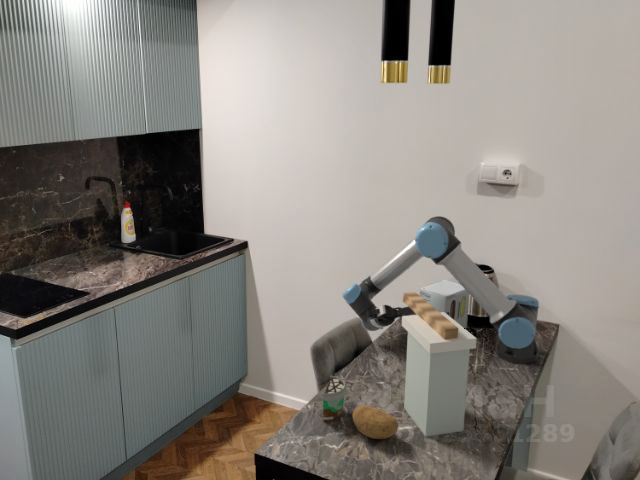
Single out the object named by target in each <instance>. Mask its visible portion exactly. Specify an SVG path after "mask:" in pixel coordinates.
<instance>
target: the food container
mask: <svg viewBox="0 0 640 480" xmlns="http://www.w3.org/2000/svg"><path fill="white" fill-rule="evenodd" d="M347 392H348V389H347V385H346V383H345V381H344V380H343V379H342V378H340V377H339V376H334V375H330V376H329V382H328V383H327V386H326V389H325V392H322V393H323V394H322V401H323V402H322V405H323V407H322V408H323V409H322V410H323V411H322V412H323V413H322V414H323V417H322V418H323V422H325V423H331V422H335V421H338V420H340V419H341V418H342V417H343V414H344V413H343V412H344V402H345V401H344V400H345V395H346V394H347Z"/></svg>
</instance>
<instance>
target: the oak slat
mask: <svg viewBox="0 0 640 480" xmlns="http://www.w3.org/2000/svg"><path fill="white" fill-rule="evenodd" d="M402 293H403V294H402V302H403V303H404V304H405V305H406V307H409V308H411V309H412V310H413V311H414V312H415V313H416V314H415V315H418V316H419V317H420V318H421V319H423V320H424V321H425V322H426V323H427V324H428V325H429V326H430V327H431V328H432V329H434V330H435V331H436V332H437V333H438V334H439V335H440V336H441V337H442V338H443V339H454V338H458V327H457V326H455V325H454V324H453V323H452V322H450V321H449V320H448V319H447V318H446V317H444V316H443V315H442V314H441V313H440V312H438V311H437V310H436V309H435V308H434V307H432V306H431V305H430V304H429V303H428V302H426V301H425V300H424V299H423V298H422V297H420V296H419V294H418V293H417V292H416V291H410V292H409V291H408V292H402Z"/></svg>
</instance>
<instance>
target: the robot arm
mask: <svg viewBox="0 0 640 480" xmlns="http://www.w3.org/2000/svg"><path fill="white" fill-rule="evenodd" d="M455 232H456V231H455V226H454V224H453V223H452V222H451V220H450V219H448V218H447V217H445V216H439V215H438V216H432V217H430V218H429V219H428V220H427V221H425V223H423V225H421V226H420V228H419V229H418V230H417V232H416V235H415V237H414V238H413V239H411V241H409V242H408V243H406V245H405V246H403V247H402V248H401V249H400V250H399V251H397V252H396V253H395V254H394V255H393V256H391V257H390V258H389V259H388V260H386V261H385V262H384V263H383V264H382V265H381V266H379V267H378V268H377V269H375V271H373V272H372V273H371V274H370V275H369V276H367V277H366V278H364V279H363V280H362V281H361V282H360V284H357V283H353V284H352V285H351V286H349V287H348V288H347V289H346V290H344V291H343V293H342V297H343V299H344V300H345V302H346V304H347V305H349V307H350V308H351V309H352V311H354V313H355V314H356V315H357V316H358V317H359V319H360V320H361V325H362V327H363V328H364V329H365V330H366V331H369V332H376V331H379V330H384V328H385V327H388V326H392V324H393V323H394V322H395V321H396V319H397V318H402V316H410V315H417V314H416V313H415V312H414V311H413V310H412V309H411V308H409V307H408V306H406V307H399V306H397V307H392V306H390V305H389V304H382V305H380V306H378V307H377V306H376V305H375V304H374V302H373V301H372V300H373V298H374V297H376V296H377V295H378V294H379V293H380V292H382V291H383V290H384V289H385V288H387V287H388V286H389V285H390V284H392V282H394V281H395V280H396V279H398V278H399V277H400V276H401V275H403V274H404V273H405V272H406V271H408V270H409V269H410V268H411V267H413V266H414V265H415V264H416V263H418V262H419V261H420V260H421V259H423V258H424V257H425V258H427V259H430V260H431V261H432V262H433V263H434V264H435V265H436V266H443V267H444V268H445V269H446V271H448V272H449V274H450V275H451V276H452V277H453V278H454V279H455V280H456V281H457V282H458V284H460V285H462V286H463V287H464V289H465V290H466V291H467V292H468V293H469V296H470V297H472V298H473V299H474V301H476V303H478V305H479V307H481V308H482V309H483V311H485V312H486V313H487V315H488V316H489V322H490V324H491V325H492V326H493V328H494V329H495V330H496V331H497V332H498V337H499V339H498V341H497V343H496V346H495V354H496V356H498V357H499V358H500V359H502V360H504V361H506V362H510V363H513V364H514V363H515V364H521V365H522V364H523V365H524V364H531V363H534V362H537V361H538V358H539V349H538V345H537V340H536V335H537V321H538V315H539V314H538V313H539V307H540V306H539V305H540V302H539V300H538V299H537V298H535V297H533V296H530V295H523V294H509V295H505V294H504V293H503V292H502V291H501V290H500V289H499V288H498V287H497V285H495V283H494V282H493V281H492V280H491V279H490V278H489V277H488V276H487V275H486V273H484V271H482V270H481V268H479V266H478V265H477V264H476V263H475V261H473V260H472V258H470V257H469V256H468V254H466V252H465V251H464V250H463V249H462V242H461V241H460V240H459V238H457V236H455V235H456V233H455Z"/></svg>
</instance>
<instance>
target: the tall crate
mask: <svg viewBox="0 0 640 480" xmlns="http://www.w3.org/2000/svg"><path fill="white" fill-rule="evenodd" d="M440 313H441V314H442V315H443V316H444V317H446V318H447V319H448V320H449V321H450V322H452V323H453V324H454V325H455V326H457V327H458V338H454V339H443V338H442V337H441V336H440V335H439V334H438V333H437V332H436V331H435V330H434V329H432V328H431V327H430V326H429V325H428V324H427V323H426V322H425V321H424V320H423V319H421V318H420V317H419V316H418V315H417V314H411V315H407V316H402V317H401V326H402V328H403V329H404V330H406V332H407V341H406V342H407V345H406V361H405V362H406V363H405V367H406V368H405V384H404V385H405V386H404V402H403V403H404V404H403V407H404V408H403V409H404V410H405V411H406V412H407V414H408V416H409V417H410V418H411V420H412V421H413V422H414V423H415V424H416V426H417V427H418V429H419V430H420V432H421V433H422V434H423V436H424V437H426V438H427V437H432V436H440V435H445V434H446V435H447V434H452V433H460V432H464V427H465V413H466V402H467V388H468V377H469V376H468V374H469V363H470V362H469V361H470V353H471V352H470V351H471V350H472V349H476V348H477V340H478V339H477V337H476V336H474V335H473V334H472V333H470V332H469V331H468V330H467V328H465V329H464V328H463V327H462V326H461V325H460V324H458V323H457V322H456V321H455V320H453V319H452V318H451V317H450V316H448V315H447V314H446V313H445V312H440Z"/></svg>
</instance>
